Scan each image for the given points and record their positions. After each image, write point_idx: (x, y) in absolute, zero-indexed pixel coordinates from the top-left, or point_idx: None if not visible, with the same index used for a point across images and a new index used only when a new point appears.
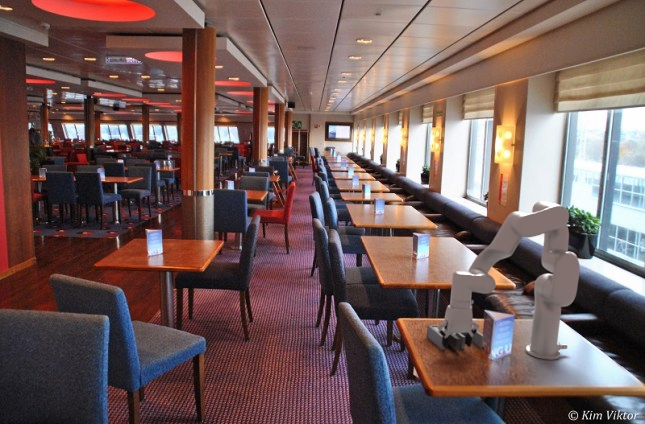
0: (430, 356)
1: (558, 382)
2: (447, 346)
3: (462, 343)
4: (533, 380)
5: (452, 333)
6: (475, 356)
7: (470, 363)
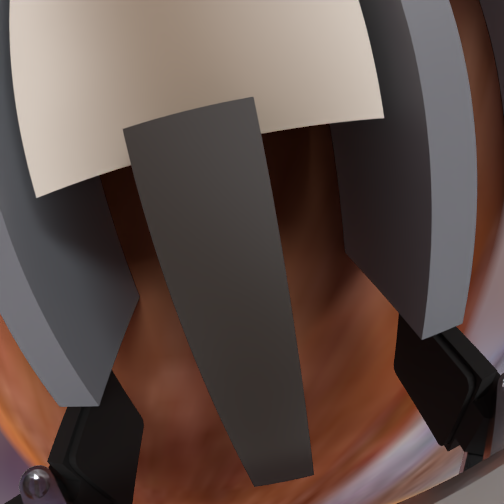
0: (38, 399)
1: None
2: (138, 437)
3: (378, 284)
4: (445, 473)
5: (263, 287)
6: (386, 376)
7: None
